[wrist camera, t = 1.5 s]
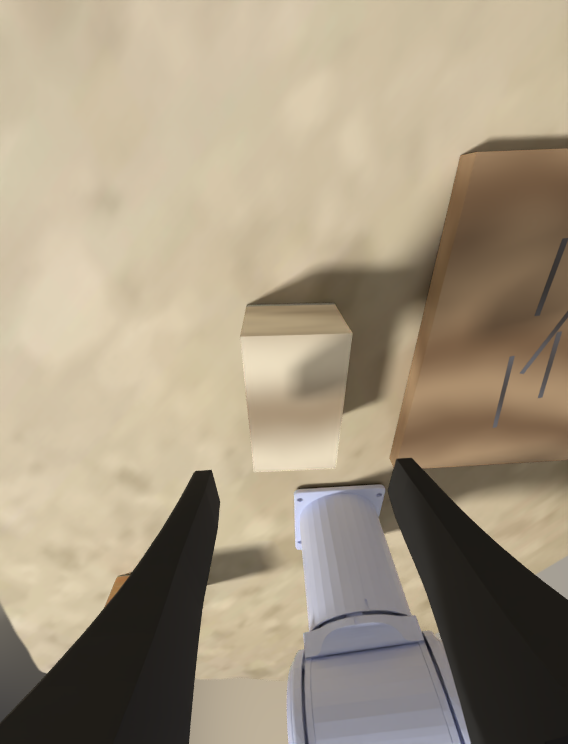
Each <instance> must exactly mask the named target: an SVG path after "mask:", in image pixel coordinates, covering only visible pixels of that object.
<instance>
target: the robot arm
mask: <svg viewBox="0 0 568 744" xmlns="http://www.w3.org/2000/svg"><path fill="white" fill-rule="evenodd" d="M384 494H385V487H384V486H383V485H381V484H377V485H360V486H344V487H327V488H311V489H298V490H296V491H295V492H294V512H295V546H296V549H298V550H302V556H303V566H304V577H305V588H306V599H307V610H308V621H309V632H305V633H304V634H303V637H304V649H303V650H299V651H298V652H297V653H296V655H295V658H294V661H293V663H292V665H291V667H290V670H289V675H288V685H287V726H288V741H289V744H568V600H567V599H566V598H565V597H563V596H562V595H560V594H559V593H558V592H557V591H555V590H554V589H553V588H551V587H550V586H549V585H547V584H546V583H545V582H543V581H542V580H541V579H540V578H538V577H537V576H536V575H535V574H533V573H532V572H531V571H530V570H528V569H527V568H526V567H525V566H523V565H522V564H521V563H520V562H519V561H517V560H516V559H515V558H514V557H513V556H511V555H510V554H509V553H508V552H507V551H506V550H504V549H503V548H502V547H501V546H500V545H499V544H498V543H496V542H495V541H494V540H493V539H492V538H491V537H490V536H489V535H488V534H486V533H485V532H484V531H483V530H482V529H481V528H480V527H479V526H478V525H477V524H476V523H475V522H474V521H473V520H472V519H470V518H469V517H468V516H467V515H466V514H465V513H464V512H463V511H462V510H461V509H460V508H459V507H458V506H457V505H456V504H455V503H454V502H453V501H452V500H451V499H450V498H449V497H448V496H447V495H446V494H445V492H444V491H443V490H442V489H441V488H440V487H439V486H438V485H437V484H436V483H435V482H434V481H433V480H432V479H431V478H430V477H429V476H428V474H427V473H426V472H425V471H424V470H423V469H422V468H421V467H420V466H419V465H418V464H417V463H416V462H415V460H414V459H413V458H399V459H396V461H395V465H394V469H393V473H392V476H391V480H390V484H389V487H388V494H389V498H390V501H391V505H392V508H393V511H394V514H395V518H396V520H397V523H398V525H399V528H400V530H401V532H402V535H403V537H404V540H405V542H406V544H407V547H408V549H409V552H410V554H411V556H412V559H413V561H414V563H415V566H416V568H417V571H418V573H419V575H420V578H421V580H422V583H423V585H424V588H425V591H426V593H427V596H428V599H429V602H430V605H431V608H432V611H433V614H434V617H435V620H436V623H437V627H438V630H439V633H440V636H441V639H442V641H441V640H440V639H439V638H438V637H436V636H435V635H434V633H433V632H432V631H430V630H428V631H422V632H421V629H420V626H419V624H418V621H417V618H416V616H415V615H411V612H410V609H409V606H408V603H407V600H406V597H405V594H404V591H403V589H402V586H401V583H400V580H399V577H398V574H397V571H396V568H395V565H394V562H393V559H392V556H391V553H390V550H389V547H388V544H387V541H386V538H385V535H384V532H383V529H382V527H381V524H380V521H379V515H380V511H381V507H382V503H383V499H384ZM219 508H220V499H219V496H218V492H217V488H216V484H215V481H214V477H213V473H212V470H205V471H195V472H194V473H193V475H192V477H191V479H190V481H189V483H188V485H187V487H186V489H185V490H184V492H183V494H182V496H181V498H180V499H179V501H178V503H177V505H176V506H175V508H174V510H173V511H172V513H171V515H170V516H169V518H168V520H167V521H166V523H165V524H164V526H163V528H162V529H161V531H160V532H159V534H158V535H157V537H156V538H155V540H154V541H153V543H152V544H151V546H150V547H149V549H148V550H147V552H146V553H145V555H144V556H143V558H142V559H141V561H140V562H139V563H138V565H137V566H136V568H135V569H134V570H133V572H132V573H131V574H130V576H129V577H128V578H127V580H126V581H125V582H124V584H123V585H122V586H121V588H120V589H119V590H118V592H117V593H116V594H115V595H114V597H113V598H112V599H111V600H110V602H109V603H108V604H107V605H106V607H105V608H104V609H103V610H102V611H101V613H100V614H99V615H98V616H97V618H96V619H95V620H94V621H93V622H92V624H91V625H90V626H89V627H88V628H87V630H86V631H85V632H84V633H83V634H82V635H81V636H80V638H79V639H78V640H77V641H76V642H75V643H74V644H73V645H72V647H71V648H70V649H69V650H68V651H67V652H66V653H65V654H64V656H63V657H62V658H61V659H60V660H59V661H58V662H57V663H56V665H55V666H54V667H53V668H52V669H51V670H50V671H49V672H48V673H47V674H46V676H45V677H44V678H43V679H42V680H41V681H40V682H39V683H38V684H37V685H36V686H35V687H34V688H33V689H32V690H31V691H30V692H29V694H27V696H26V697H25V698H24V699H23V700H22V701H21V702H20V703H19V704H18V705H17V706H16V707H15V708H14V709H13V710H12V711H11V712H10V713H9V714H8V715H7V716H6V717H5V718H4V719H3V720H2V721H1V723H0V744H189V736H190V722H191V712H192V701H193V690H194V680H195V670H196V661H197V651H198V642H199V633H200V625H201V616H202V609H203V602H204V596H205V591H206V586H207V581H208V576H209V571H210V566H211V561H212V556H213V551H214V545H215V540H216V535H217V530H218V520H219Z"/></svg>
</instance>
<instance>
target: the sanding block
mask: <svg viewBox="0 0 568 744" xmlns="http://www.w3.org/2000/svg"><path fill="white" fill-rule="evenodd" d="M352 334H353V333H352V332H351V330H350V328H349V327H348V325H347V323H346V322H345V320H344V318H343V317H342V315H341V314H340V312H339V310H338V309H337V307H336V305H335V304H334V303H303V304H263V305H247V306H246V311H245V316H244V320H243V325H242V330H241V335H240V340H241V350H242V360H243V370H244V380H245V389H246V399H247V409H248V419H249V429H250V438H251V448H252V458H253V468H254V472H270V471H292V470H315V469H336V462H337V454H338V446H339V438H340V430H341V422H342V414H343V406H344V398H345V390H346V382H347V374H348V366H349V358H350V350H351V342H352Z"/></svg>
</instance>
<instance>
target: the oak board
mask: <svg viewBox="0 0 568 744" xmlns="http://www.w3.org/2000/svg"><path fill="white" fill-rule="evenodd" d="M399 458H413V459H414V460H415V462H416V463H417V464H418V465H419V466H420V467H421V468H422V469H424V468H441V467H458V466H475V465H492V464H509V463H525V462H542V461H559V460H568V148H563V149H538V150H513V151H488V152H474V153H470V154H465V155H460V160H459V164H458V168H457V172H456V177H455V181H454V185H453V189H452V194H451V198H450V202H449V207H448V211H447V215H446V219H445V224H444V228H443V232H442V236H441V241H440V245H439V249H438V254H437V258H436V262H435V266H434V271H433V275H432V279H431V283H430V288H429V292H428V296H427V301H426V305H425V309H424V313H423V318H422V322H421V326H420V330H419V335H418V339H417V343H416V348H415V352H414V356H413V360H412V365H411V369H410V373H409V377H408V382H407V386H406V390H405V395H404V399H403V403H402V407H401V412H400V416H399V420H398V424H397V429H396V433H395V437H394V442H393V446H392V450H391V454H390V460H391V463H392V465H393V467H394V465H395V461H396V459H399Z"/></svg>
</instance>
